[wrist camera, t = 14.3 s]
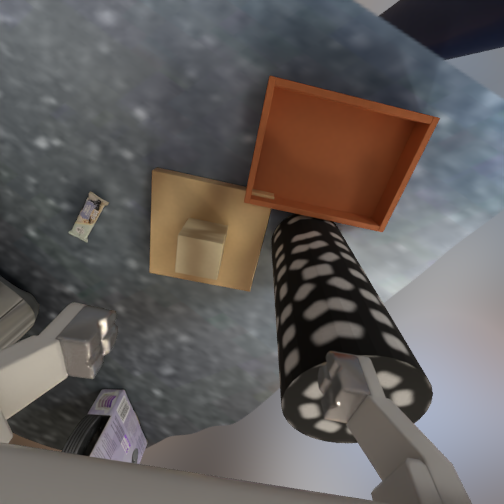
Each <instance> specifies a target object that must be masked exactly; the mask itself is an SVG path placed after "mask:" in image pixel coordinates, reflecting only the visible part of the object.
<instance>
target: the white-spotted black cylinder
mask: <svg viewBox="0 0 504 504" xmlns="http://www.w3.org/2000/svg"><path fill="white" fill-rule="evenodd" d="M272 262H273V278H274V295H275V311H276V327H277V343H278V359H279V375H280V389H281V407H282V411H283V415H284V417H285V418H286V420H287V421H288V423H289V424H290V425H292V427H294V428H295V429H296V430H298V431H299V432H301V433H303V434H305V435H307V436H309V437H312V438H315V439H319V440H323V441H328V442H336V443H358V442H357V441H356V439H355V437H354V436H353V434H352V433H351V431H350V430H349V428H348V427H347V425H346V424H347V423H342V422H337V421H332V420H327V419H324V415H323V410H322V404H321V400H322V398H323V396H324V395H323V394H322V393H321V391H320V390H319V387H318V372H319V369H320V366H321V364H323V363H325V362H326V355H327V353H328V352H329V351H336V352H342V353H347V354H353V355H358V356H364V357H369V359H370V360H371V362H372V364H373V367H374V369H375V372H376V374H377V377H378V379H379V382H380V384H381V387H382V389H383V392H384V394H385V397H386V398H388V399H390V400H391V401H392V402H393V403H394V404H395V405H396V406H397V407H398V408H399V409H400V410H401V411H402V412H403V413H404V414H405V415H406V416H407V417H408V418H409V419H410V420H411V421H412V423H413V424H414V423H415V422H417V421H418V420H419V419H420V418H421V417H422V416H423V415H424V414H425V412H426V411H427V410H428V408H429V406H430V404H431V400H432V396H433V392H432V387H431V384H430V382H429V380H428V378H427V376H426V375H425V373H424V372H423V370H422V368H421V367H420V365H419V363H418V362H417V360H416V358H415V357H414V355H413V353H412V351H411V350H410V348H409V346H408V345H407V343H406V341H405V340H404V338H403V336H402V335H401V333H400V331H399V330H398V328H397V326H396V325H395V323H394V321H393V320H392V318H391V316H390V315H389V313H388V311H387V310H386V308H385V306H384V304H383V303H382V301H381V299H380V298H379V296H378V294H377V293H376V291H375V289H374V288H373V286H372V284H371V283H370V281H369V279H368V278H367V276H366V274H365V273H364V271H363V269H362V268H361V266H360V264H359V263H358V261H357V259H356V258H355V256H354V254H353V253H352V251H351V249H350V247H349V246H348V244H347V242H346V241H345V239H344V237H343V236H342V234H341V232H340V231H339V229H338V227H337V226H336V224H335V223H334V222H333V221H328V220H323V219H318V218H314V217H309V216H304V215H300V214H293V215H291V216H289V217H287V218H286V219H285V220H283V221H282V222H281V223H280V224H279V225H278V227H277V228H276V230H275V232H274V234H273V237H272Z"/></svg>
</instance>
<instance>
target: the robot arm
mask: <svg viewBox="0 0 504 504" xmlns="http://www.w3.org/2000/svg"><path fill="white" fill-rule="evenodd" d="M116 319H117V313H116V311H114V310H109V309H105V308H100V307H95V306H91V305H85V304H80V303H75V302H73V303H71V304H69V305H68V306H67V307H66V308H65V309H64V310H63V311H62V312H61V313H60V314H59V315H58V316H57V317H56V318H55V319H54V320H53V321H52V322H51V323H50V324H49V325H48V326H47V327H46V328H45V329H44V330H43V331H42V332H41V333H40V334H39V335H38V336H35V335H33V336H31V337H28V338H26V339H24V340H22V341H19V342H17V343H15V344H12V345H10V346H8V347H6V348H3V349H1V350H0V504H472V503H471V501H470V499H469V497H468V495H467V493H466V491H465V489H464V487H463V485H462V483H461V481H460V479H459V477H458V475H457V473H456V471H455V469H454V466H453V464H452V463H451V462H450V461H449V460H448V459H447V458H446V457H445V456H444V455H443V454H442V453H441V452H440V451H439V450H438V449H437V448H436V447H435V446H434V445H433V443H432V442H431V441H430V440H429V439H428V438H427V437H426V436H425V435H424V434H423V433H422V432H421V431H420V430H419V429H418V428H417V427H416V426H415V425H414V424H413V423H412V421H411V420H410V419H409V418H408V417H407V416H406V415H405V414H404V413H403V412H402V411H401V410H400V409H399V408H398V407H397V406H396V405H395V404H394V403H393V402H392V401H391V400H390V399H388V398H386V397H385V394H384V392H383V389H382V387H381V384H380V382H379V379H378V377H377V374H376V372H375V369H374V367H373V364H372V362H371V360H370V359H369V357H364V356H358V355H353V354H347V353H342V352H336V351H329V352H328V353H327V355H326V362H325V363H323V364H321V366H320V369H319V372H318V387H319V390H320V391H321V393H322V394H323V395H324V396H323V398H322V400H321V404H322V410H323V415H324V419H327V420H332V421H337V422H342V423H347V424H346V425H347V427H348V428H349V430H350V431H351V433H352V434H353V436H354V437H355V439H356V441H357V442H358V444H359V445H360V447H361V448H362V450H363V451H364V453H365V454H366V456H367V457H368V459H369V461H370V462H371V464H372V465H373V467H374V468H375V470H376V471H377V473H378V475H379V476H380V478H381V479H382V482H381V483H380V484H379V485H378V486H377V487H376V488H375V489H374V490H373V491H372V493H371V494H372V498H373V501H371V500H365V499H359V498H352V497H346V496H339V495H333V494H327V493H320V492H313V491H308V490H301V489H294V488H288V487H282V486H275V485H269V484H263V483H257V482H250V481H243V480H237V479H231V478H225V477H218V476H212V475H205V474H199V473H193V472H186V471H180V470H174V469H167V468H161V467H154V466H148V465H141V464H135V463H129V462H122V461H116V460H110V459H103V458H97V457H90V456H84V455H78V454H71V453H65V452H58V451H52V450H46V449H39V448H33V447H26V446H20V445H13V444H8V443H9V441H10V440H11V439H12V437H13V435H12V431H11V429H10V427H9V425H8V423H7V421H6V420H7V419H8V418H10V417H11V416H12V415H14V414H15V413H17V412H18V411H20V410H21V409H23V408H24V407H25V406H27V405H28V404H30V403H31V402H33V401H34V400H35V399H37V398H38V397H40V396H41V395H43V394H44V393H46V392H47V391H48V390H50V389H51V388H53V387H54V386H56V385H57V384H58V383H60V382H61V381H63V380H64V379H66V378H67V377H68V376H74V377H81V378H88V379H94V377H95V375H96V374H97V372H98V371H99V369H100V367H101V366H102V364H103V363H104V362H103V356H104V355H106V354H108V353H109V352H110V351H111V350H112V348H113V346H114V344H115V342H116V339H117V335H118V326H117V325H116V324H115V323H114V322H115V321H116Z"/></svg>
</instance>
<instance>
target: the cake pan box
mask: <svg viewBox="0 0 504 504" xmlns="http://www.w3.org/2000/svg"><path fill="white" fill-rule="evenodd" d="M139 424H140V422H139V420H138V417H137V415H136V413H135V411H133V408H132V406H131V404H130V402H129V399H128V397H127V395H126V392H125V390H124V389H102V390H101V392H100V393H99V395H98V397H97V398H96V400H95V402H94V403H93V405H92V407H91V408H90V410H89V412H88V414H87V416H85V417H84V418H83V419H82V420H81V422H80V423H79V424H78V425H77V426H76V428H75V429H74V431H73V432H72V434H71V435H70V437H69V438H68V440H67V442H66V444H65V445H64V448H63V450H62V452H65V453H71V454H78V455H84V456H90V457H97V458H103V459H110V460H116V461H122V462H129V463H135V464H139V463H140V461H141V458H142V456H143V453H144V450H145V448H146V445H147V440H146V439H145V436H144V434H143V432H142V430H141V427H140V425H139Z"/></svg>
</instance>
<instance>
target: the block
mask: <svg viewBox="0 0 504 504" xmlns="http://www.w3.org/2000/svg"><path fill="white" fill-rule="evenodd" d="M227 230H228V226H227V225H222V224H218V223H213V222H208V221H203V220H198V219H193V218H188V220H187V221H186V223H185V225H184V226H183V228H182V229H181V231H180V233H179V234H178V240H177V252H176V264H175V272H177V273H182V274H188V275H193V276H198V277H203V278H208V279H214V280H217V278H218V274H219V270H220V266H221V262H222V258H223V252H224V247H225V241H226V236H227Z"/></svg>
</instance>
